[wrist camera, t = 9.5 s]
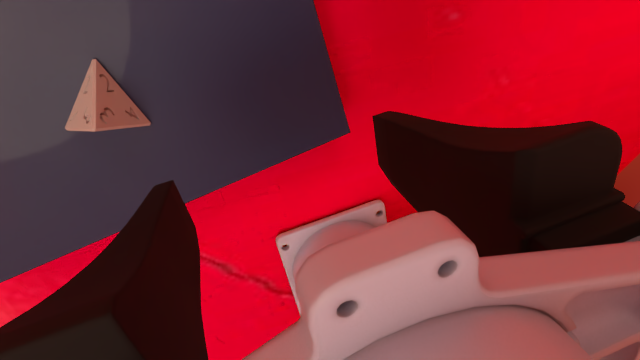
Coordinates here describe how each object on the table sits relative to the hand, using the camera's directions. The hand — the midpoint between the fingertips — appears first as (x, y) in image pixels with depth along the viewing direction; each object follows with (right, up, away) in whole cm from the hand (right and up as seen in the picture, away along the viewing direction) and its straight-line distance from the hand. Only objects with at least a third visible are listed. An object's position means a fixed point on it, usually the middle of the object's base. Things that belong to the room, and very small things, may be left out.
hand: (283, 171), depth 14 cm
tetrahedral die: (-8, +3, +4) cm, 9 cm away
